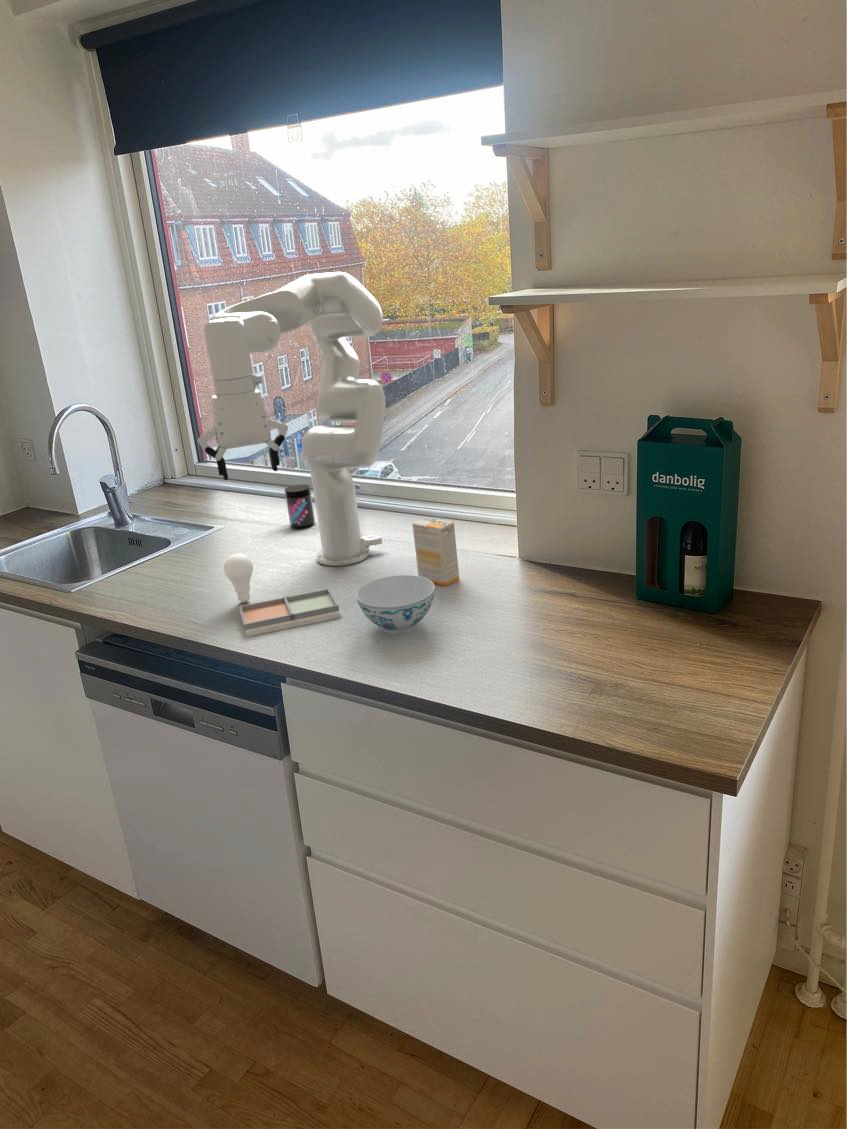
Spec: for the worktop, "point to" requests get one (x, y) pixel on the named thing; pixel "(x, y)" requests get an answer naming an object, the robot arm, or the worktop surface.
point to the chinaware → (396, 601)
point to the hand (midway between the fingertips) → (250, 474)
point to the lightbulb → (239, 574)
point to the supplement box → (436, 550)
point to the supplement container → (300, 506)
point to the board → (289, 612)
